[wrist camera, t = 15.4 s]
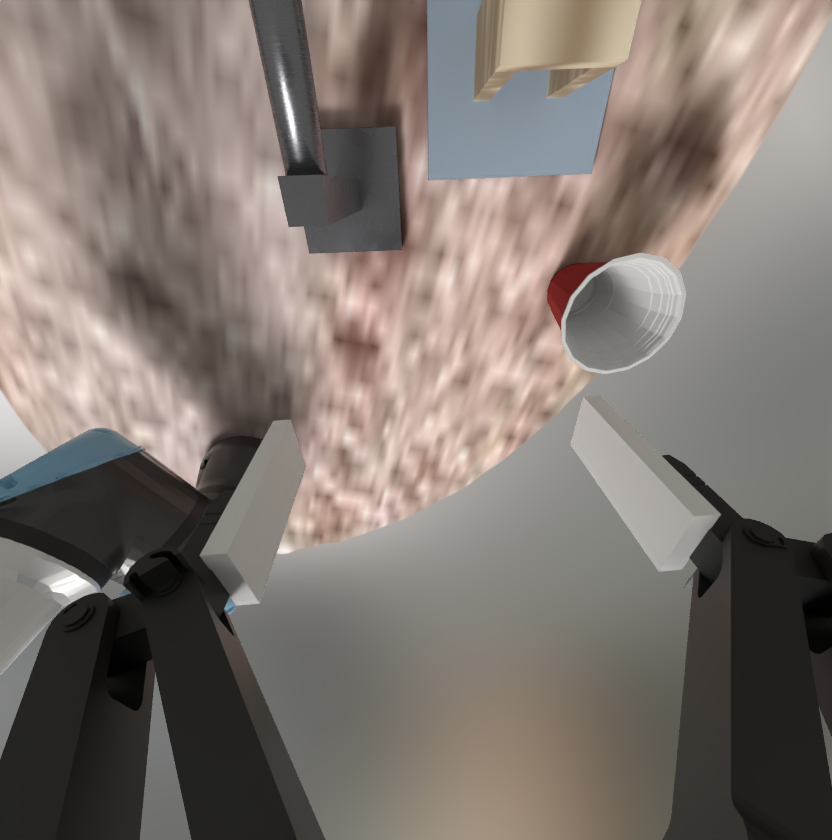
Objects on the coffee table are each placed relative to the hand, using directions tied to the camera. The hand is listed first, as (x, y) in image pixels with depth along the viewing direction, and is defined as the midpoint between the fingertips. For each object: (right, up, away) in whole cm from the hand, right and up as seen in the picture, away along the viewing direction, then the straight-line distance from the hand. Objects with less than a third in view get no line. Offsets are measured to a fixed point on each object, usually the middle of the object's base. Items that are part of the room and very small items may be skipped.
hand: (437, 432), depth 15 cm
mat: (+8, +32, +13) cm, 35 cm away
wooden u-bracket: (+8, +31, +12) cm, 34 cm away
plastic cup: (+18, +17, +24) cm, 34 cm away
